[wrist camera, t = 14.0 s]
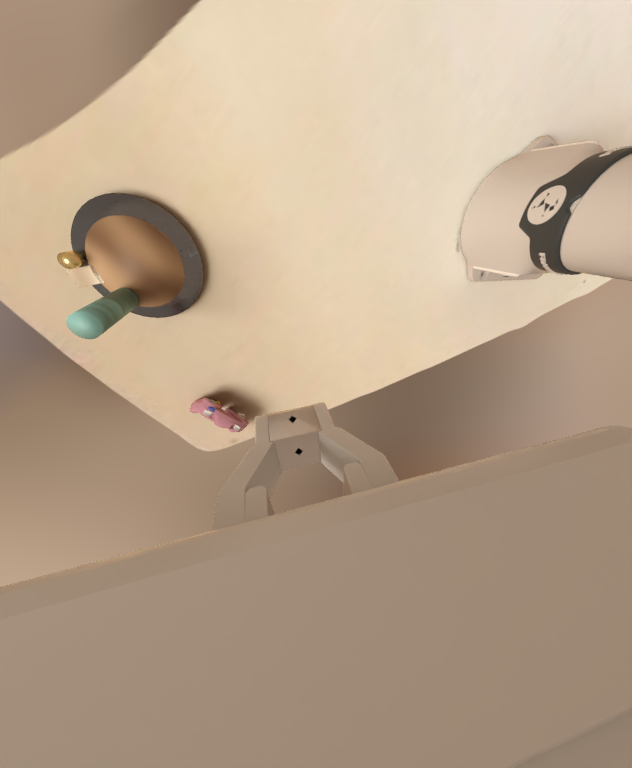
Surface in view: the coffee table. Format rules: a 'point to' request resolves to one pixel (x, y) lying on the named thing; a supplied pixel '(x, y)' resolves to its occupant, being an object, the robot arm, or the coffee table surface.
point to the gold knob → (72, 259)
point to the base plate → (162, 221)
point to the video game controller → (219, 414)
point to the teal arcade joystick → (125, 272)
